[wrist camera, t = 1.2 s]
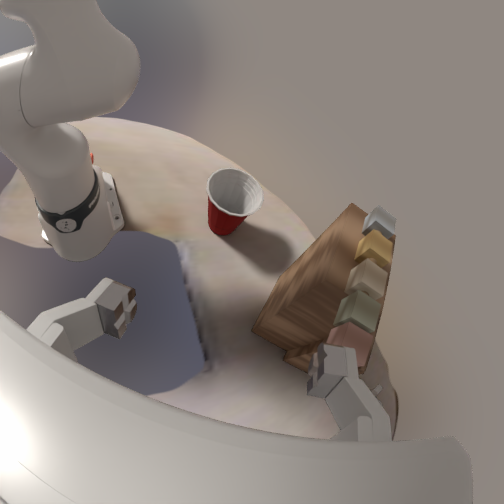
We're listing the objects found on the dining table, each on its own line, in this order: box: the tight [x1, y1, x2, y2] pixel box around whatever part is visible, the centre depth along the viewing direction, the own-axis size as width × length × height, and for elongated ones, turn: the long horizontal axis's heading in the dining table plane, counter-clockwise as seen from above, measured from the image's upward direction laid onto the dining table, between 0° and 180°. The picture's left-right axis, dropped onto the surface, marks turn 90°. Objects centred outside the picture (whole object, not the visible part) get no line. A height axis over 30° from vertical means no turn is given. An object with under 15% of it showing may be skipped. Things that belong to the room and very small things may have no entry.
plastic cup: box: [207, 168, 264, 235], centre depth 53 cm, size 11×11×12 cm
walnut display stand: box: [251, 203, 396, 374], centre depth 41 cm, size 16×17×26 cm
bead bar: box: [326, 205, 396, 367], centre depth 27 cm, size 20×3×3 cm, turn 153°
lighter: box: [371, 384, 383, 406], centre depth 45 cm, size 7×2×8 cm, turn 33°
